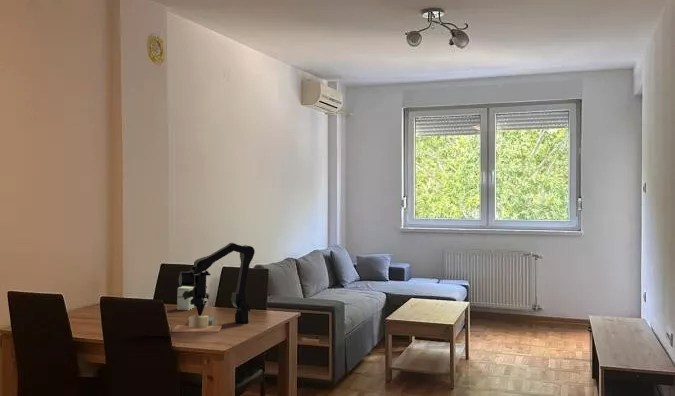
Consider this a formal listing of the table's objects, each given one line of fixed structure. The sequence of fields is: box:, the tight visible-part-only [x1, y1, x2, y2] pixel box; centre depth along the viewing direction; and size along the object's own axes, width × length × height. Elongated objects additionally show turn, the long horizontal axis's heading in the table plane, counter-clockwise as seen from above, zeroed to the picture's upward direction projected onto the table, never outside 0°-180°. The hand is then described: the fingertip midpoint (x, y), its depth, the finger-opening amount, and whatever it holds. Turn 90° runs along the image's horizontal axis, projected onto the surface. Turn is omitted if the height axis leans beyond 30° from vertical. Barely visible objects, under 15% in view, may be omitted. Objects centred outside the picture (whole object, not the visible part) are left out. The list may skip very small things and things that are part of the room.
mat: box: [171, 324, 223, 333], centre depth 298 cm, size 22×12×1 cm, turn 93°
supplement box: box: [176, 285, 195, 311], centre depth 350 cm, size 7×7×13 cm
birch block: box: [188, 315, 209, 327], centre depth 301 cm, size 9×5×3 cm
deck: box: [186, 316, 216, 326], centre depth 309 cm, size 12×10×3 cm
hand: (199, 316), depth 305 cm, fingers closed
